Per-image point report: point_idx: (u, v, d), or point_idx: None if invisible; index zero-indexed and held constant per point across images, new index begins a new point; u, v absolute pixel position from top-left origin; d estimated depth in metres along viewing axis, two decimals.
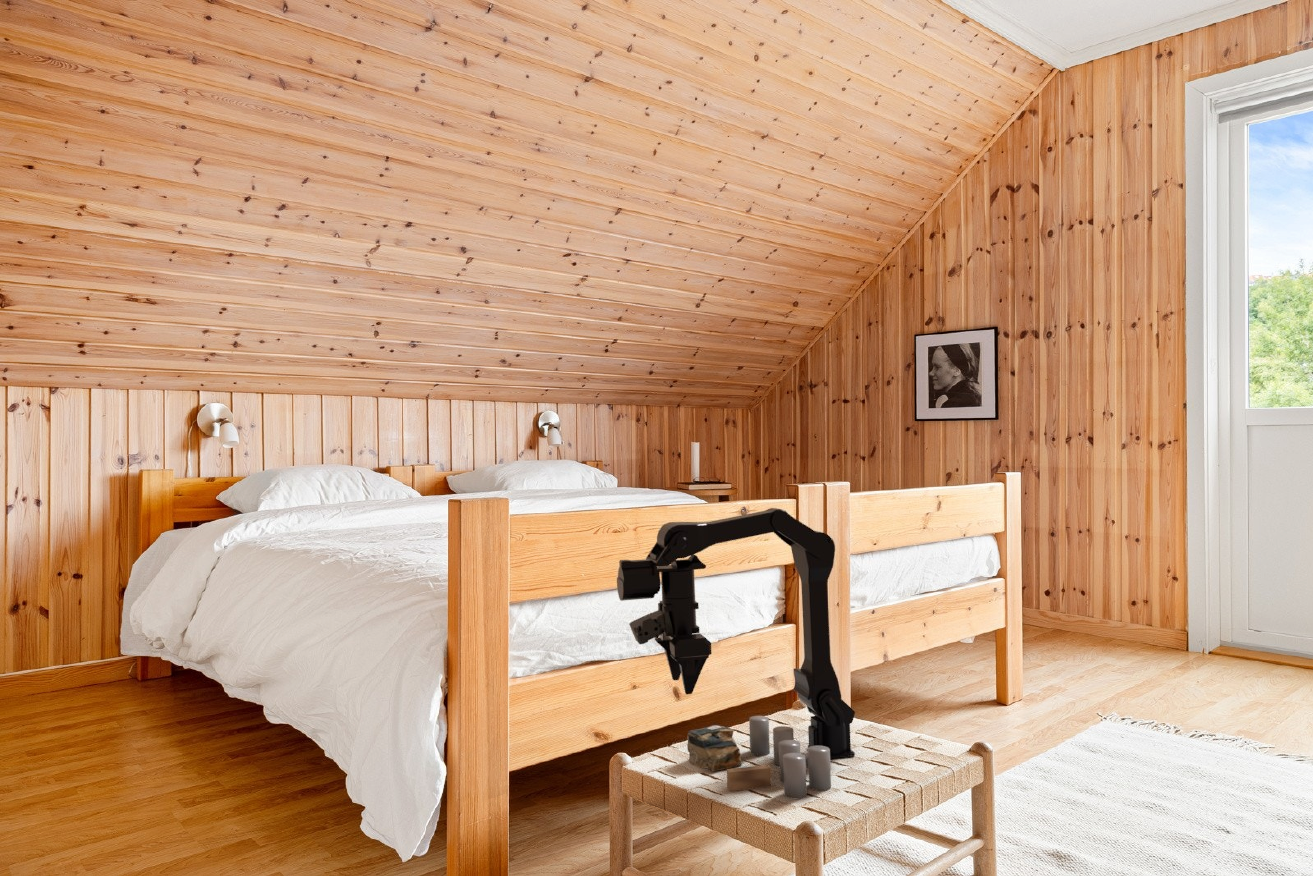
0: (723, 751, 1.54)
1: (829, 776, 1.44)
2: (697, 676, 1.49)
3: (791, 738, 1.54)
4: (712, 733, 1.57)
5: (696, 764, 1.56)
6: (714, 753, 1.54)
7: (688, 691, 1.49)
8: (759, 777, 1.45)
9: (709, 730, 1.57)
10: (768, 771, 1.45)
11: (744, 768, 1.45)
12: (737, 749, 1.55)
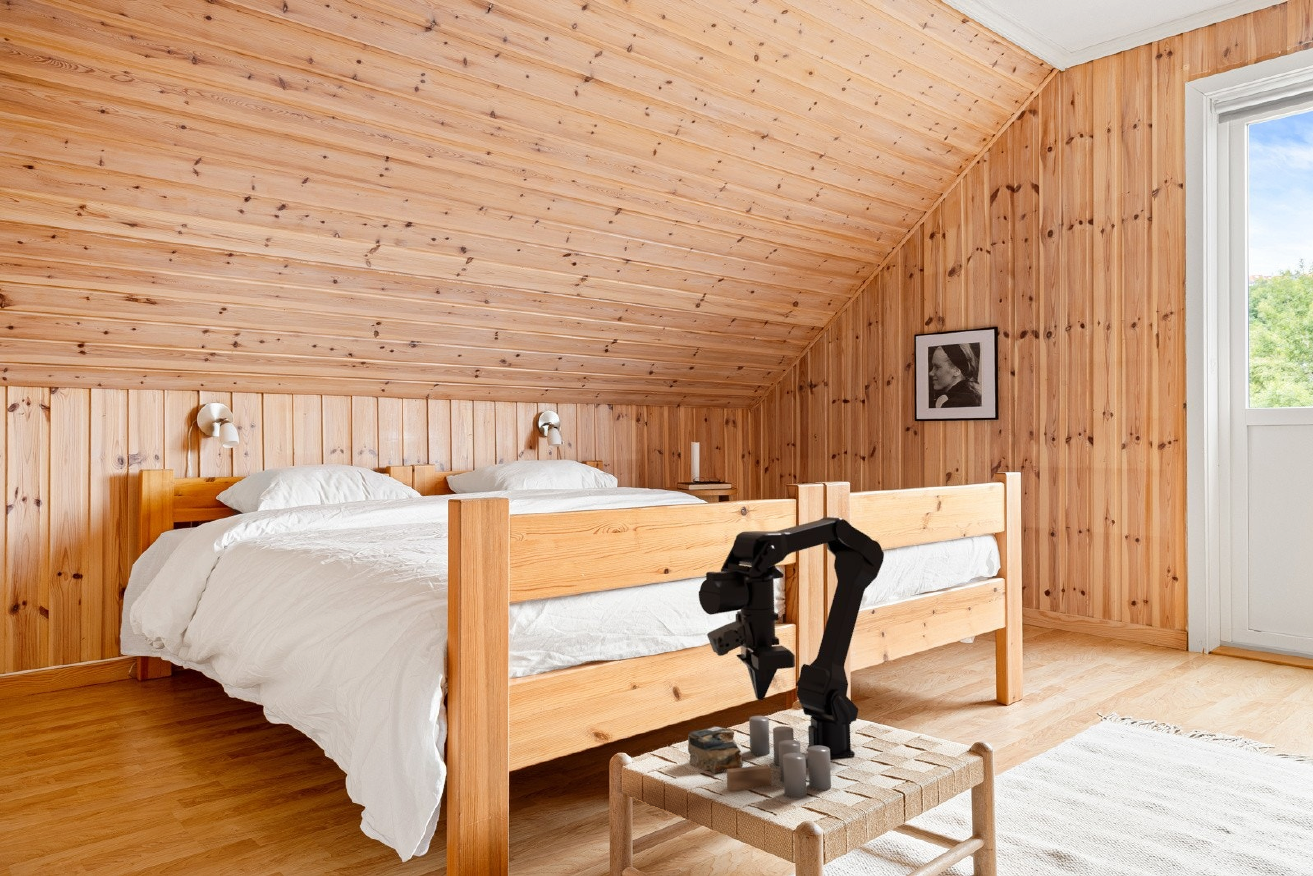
0: (724, 752, 1.53)
1: (829, 776, 1.44)
2: (769, 682, 1.50)
3: (791, 738, 1.54)
4: (713, 735, 1.56)
5: (697, 766, 1.55)
6: (715, 755, 1.53)
7: (760, 697, 1.51)
8: (759, 777, 1.45)
9: (710, 732, 1.57)
10: (768, 771, 1.45)
11: (744, 768, 1.45)
12: (738, 751, 1.54)
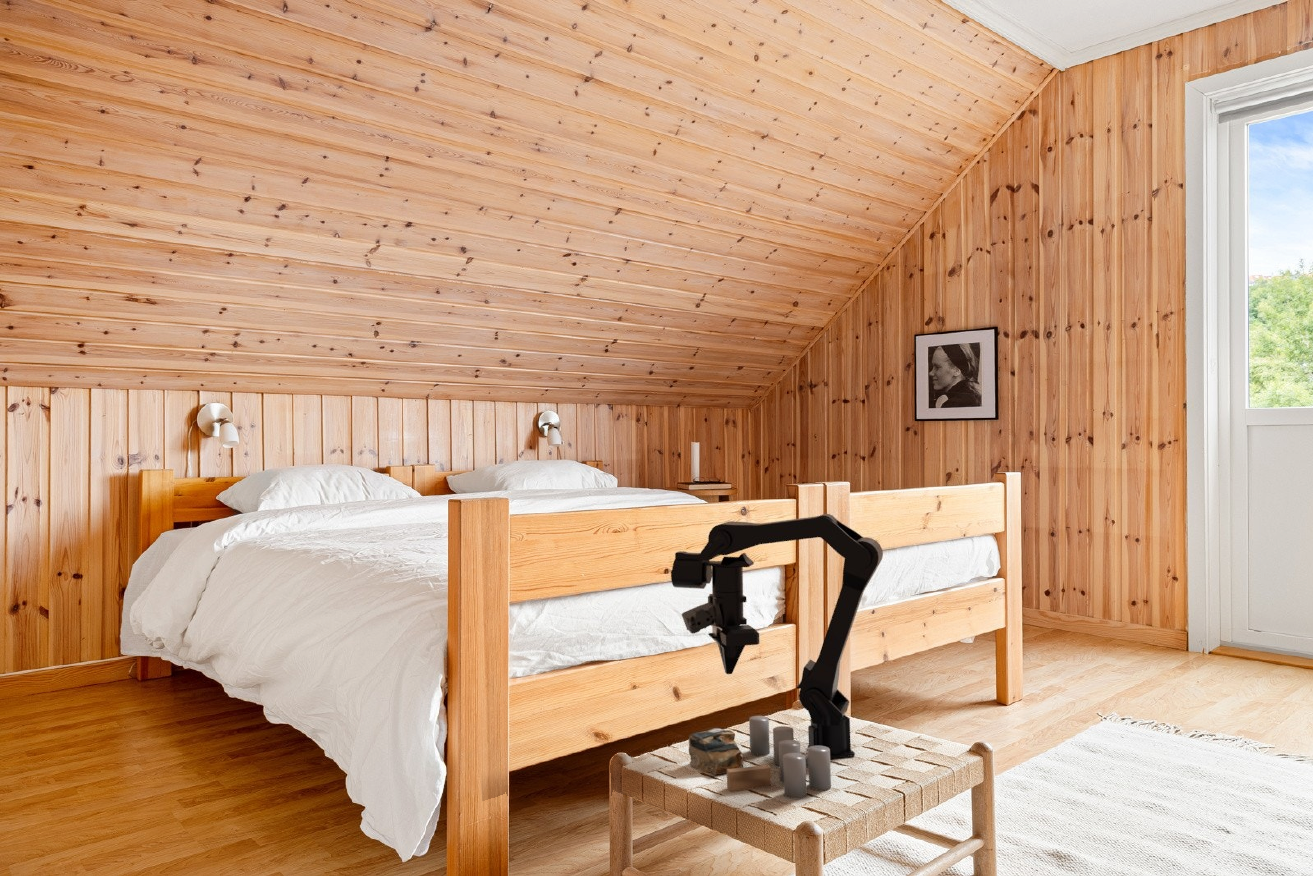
0: (725, 754, 1.53)
1: (829, 776, 1.44)
2: (737, 658, 1.66)
3: (791, 738, 1.54)
4: (714, 737, 1.55)
5: (698, 768, 1.54)
6: (716, 757, 1.52)
7: (729, 671, 1.66)
8: (759, 777, 1.45)
9: (711, 733, 1.56)
10: (768, 771, 1.45)
11: (744, 768, 1.45)
12: (739, 752, 1.53)
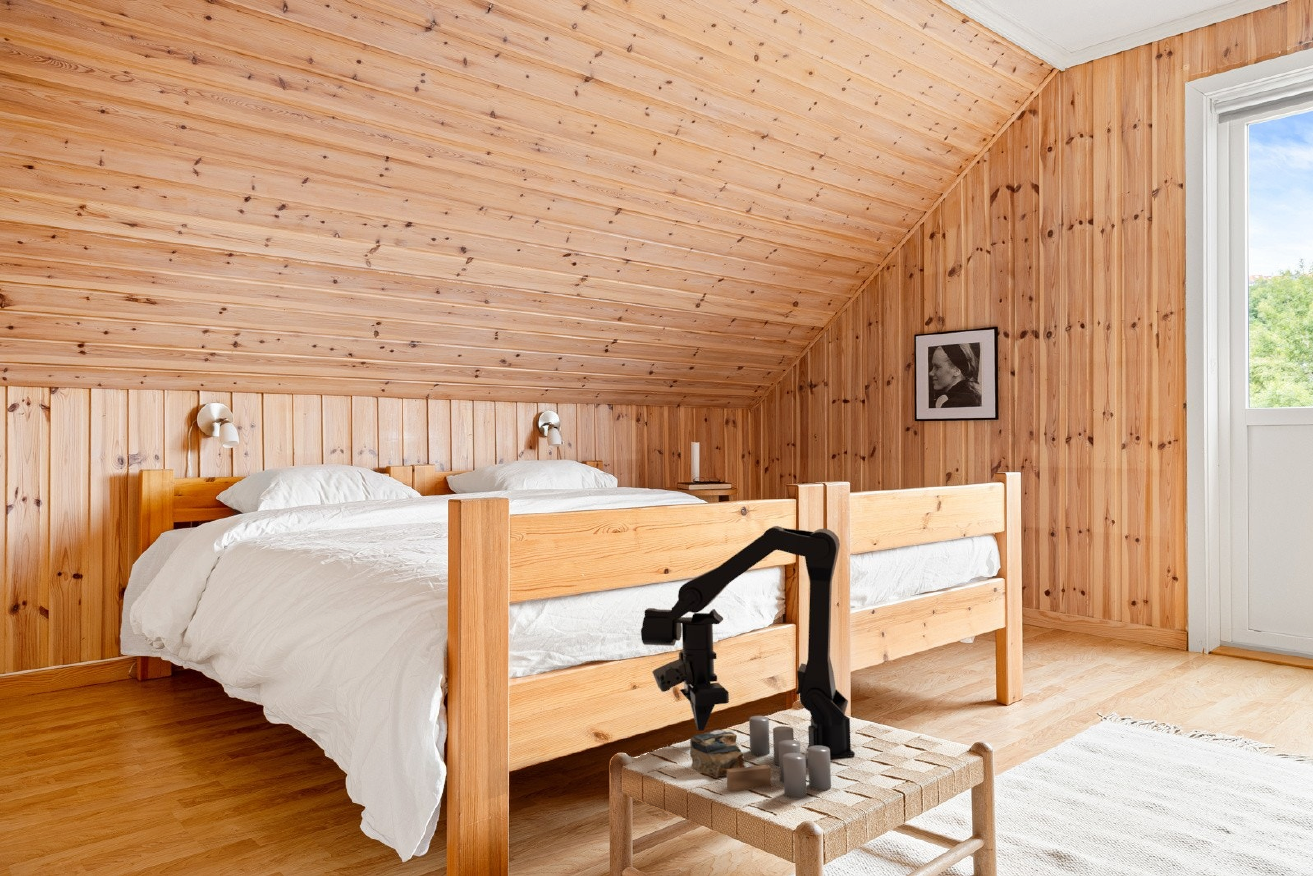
0: (727, 756, 1.52)
1: (829, 776, 1.44)
2: (708, 715, 1.66)
3: (791, 738, 1.54)
4: (716, 738, 1.54)
5: (699, 770, 1.53)
6: (718, 758, 1.51)
7: (700, 728, 1.66)
8: (759, 777, 1.45)
9: (712, 735, 1.55)
10: (768, 771, 1.45)
11: (744, 768, 1.45)
12: (741, 754, 1.52)
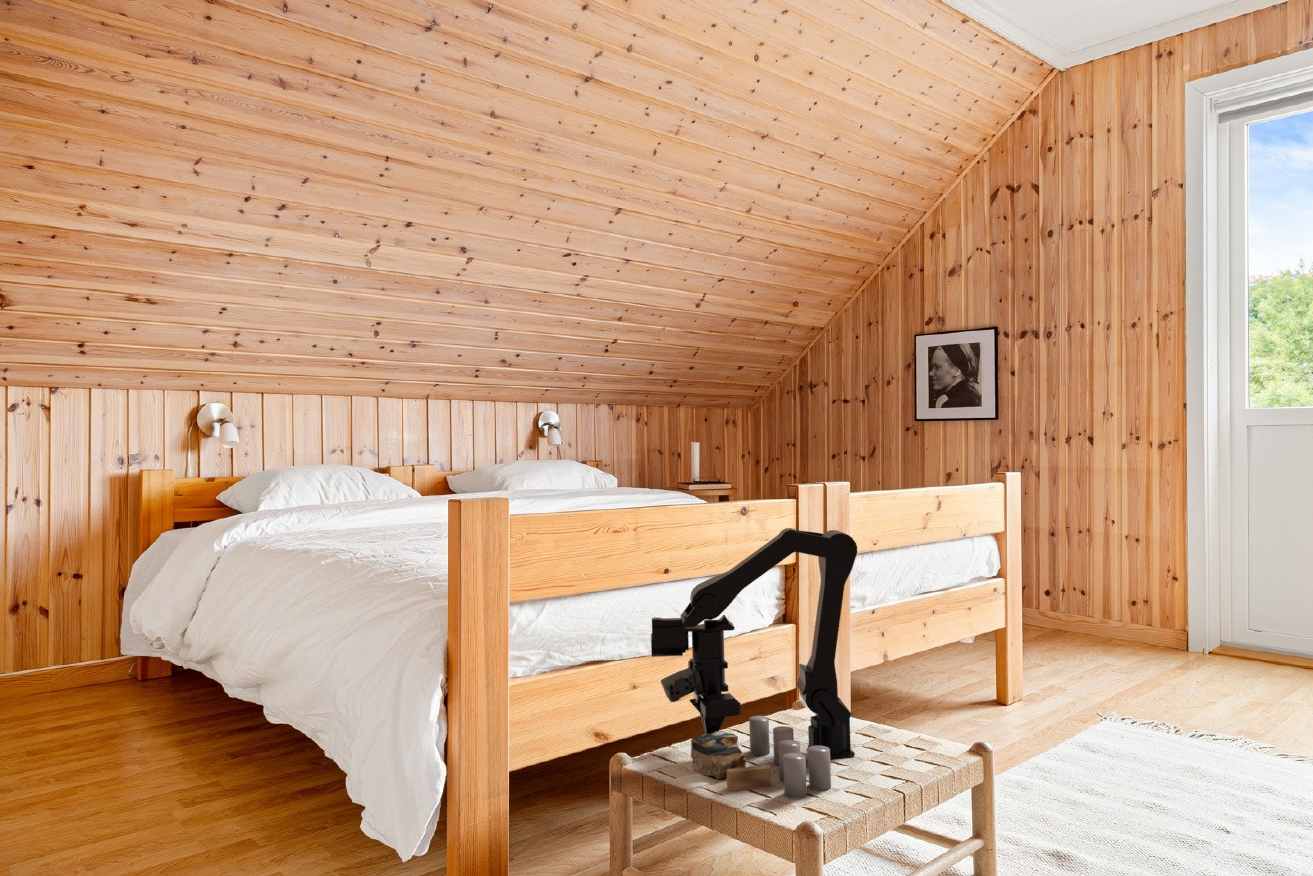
0: (728, 758, 1.50)
1: (829, 776, 1.44)
2: (719, 726, 1.59)
3: (791, 738, 1.54)
4: (717, 740, 1.53)
5: (700, 771, 1.52)
6: (719, 760, 1.50)
7: None
8: (759, 777, 1.45)
9: (713, 736, 1.54)
10: (768, 771, 1.45)
11: (744, 768, 1.45)
12: (742, 756, 1.51)
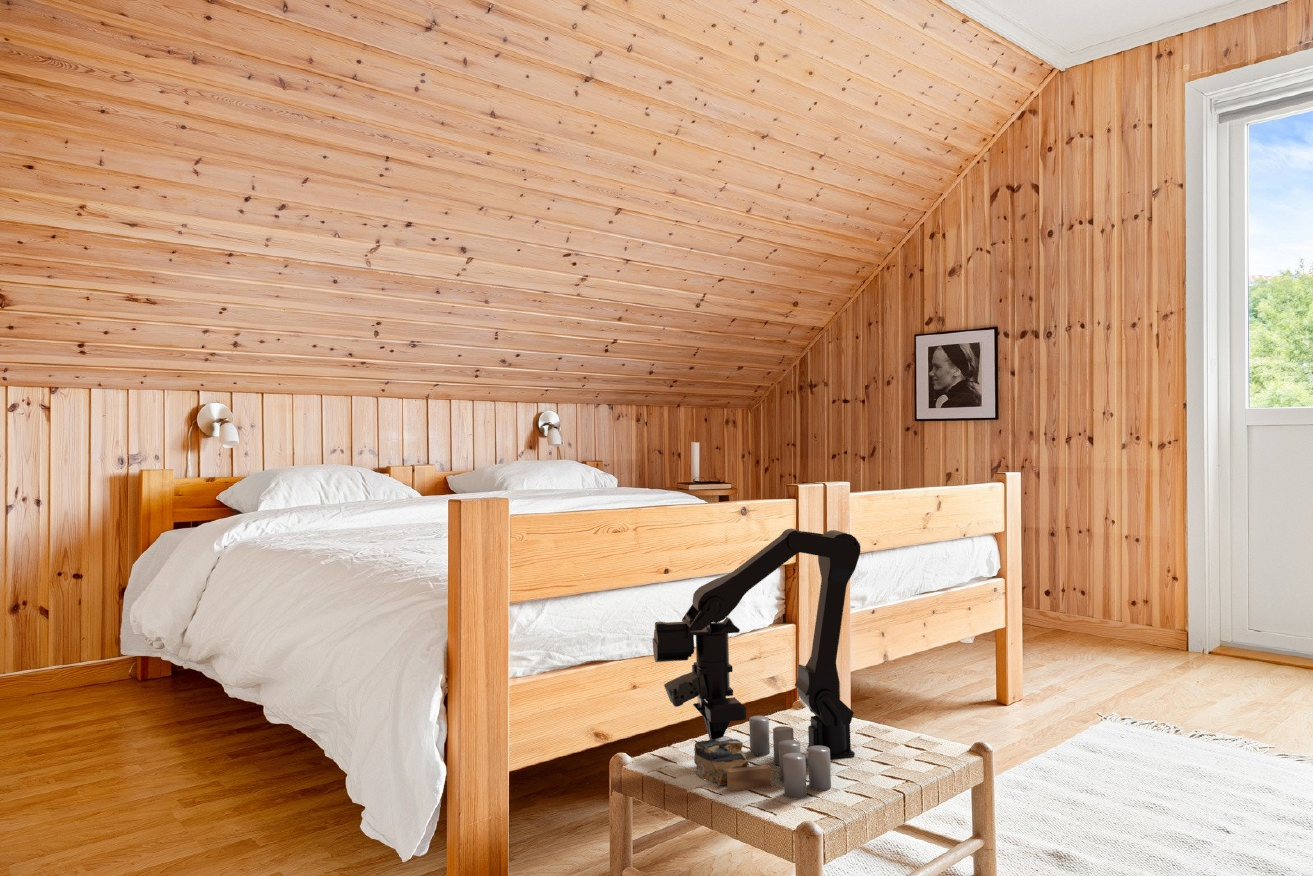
0: (731, 764, 1.48)
1: (829, 776, 1.44)
2: (724, 731, 1.56)
3: (791, 738, 1.54)
4: (720, 746, 1.51)
5: (703, 777, 1.49)
6: (721, 766, 1.48)
7: None
8: (759, 777, 1.45)
9: (717, 742, 1.51)
10: (768, 771, 1.45)
11: (744, 768, 1.45)
12: (745, 763, 1.48)
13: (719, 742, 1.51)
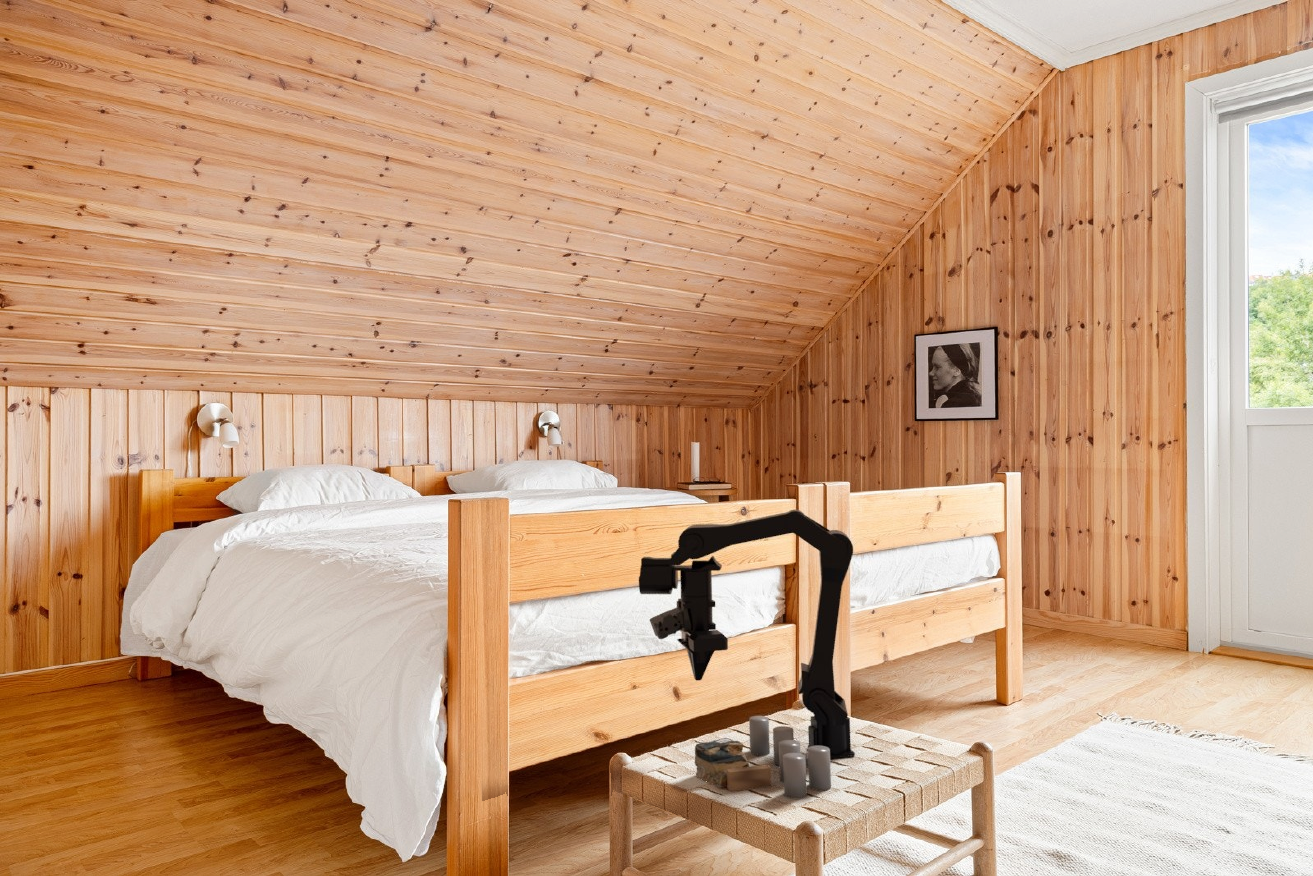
0: (732, 766, 1.47)
1: (829, 776, 1.44)
2: (706, 664, 1.63)
3: (791, 738, 1.54)
4: (721, 747, 1.50)
5: (703, 779, 1.49)
6: (721, 768, 1.47)
7: (698, 677, 1.63)
8: (759, 777, 1.45)
9: (717, 744, 1.50)
10: (768, 771, 1.45)
11: (744, 768, 1.45)
12: (746, 764, 1.47)
13: (720, 744, 1.50)
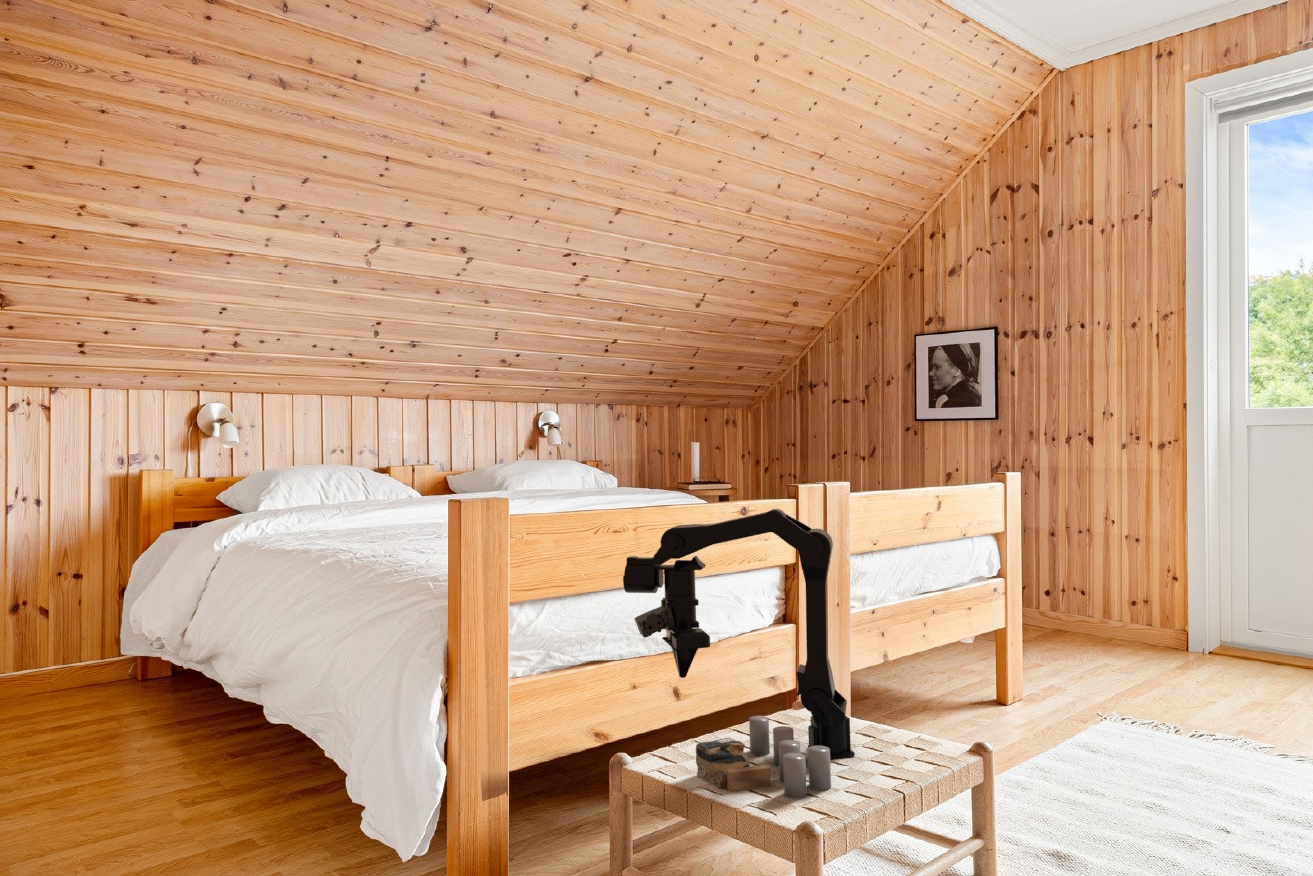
0: (731, 766, 1.47)
1: (829, 776, 1.44)
2: (690, 661, 1.66)
3: (791, 738, 1.54)
4: (722, 747, 1.50)
5: (704, 778, 1.49)
6: (721, 768, 1.47)
7: (682, 675, 1.66)
8: (759, 777, 1.45)
9: (718, 743, 1.50)
10: (768, 771, 1.45)
11: (744, 768, 1.45)
12: (746, 765, 1.47)
13: (720, 743, 1.50)
